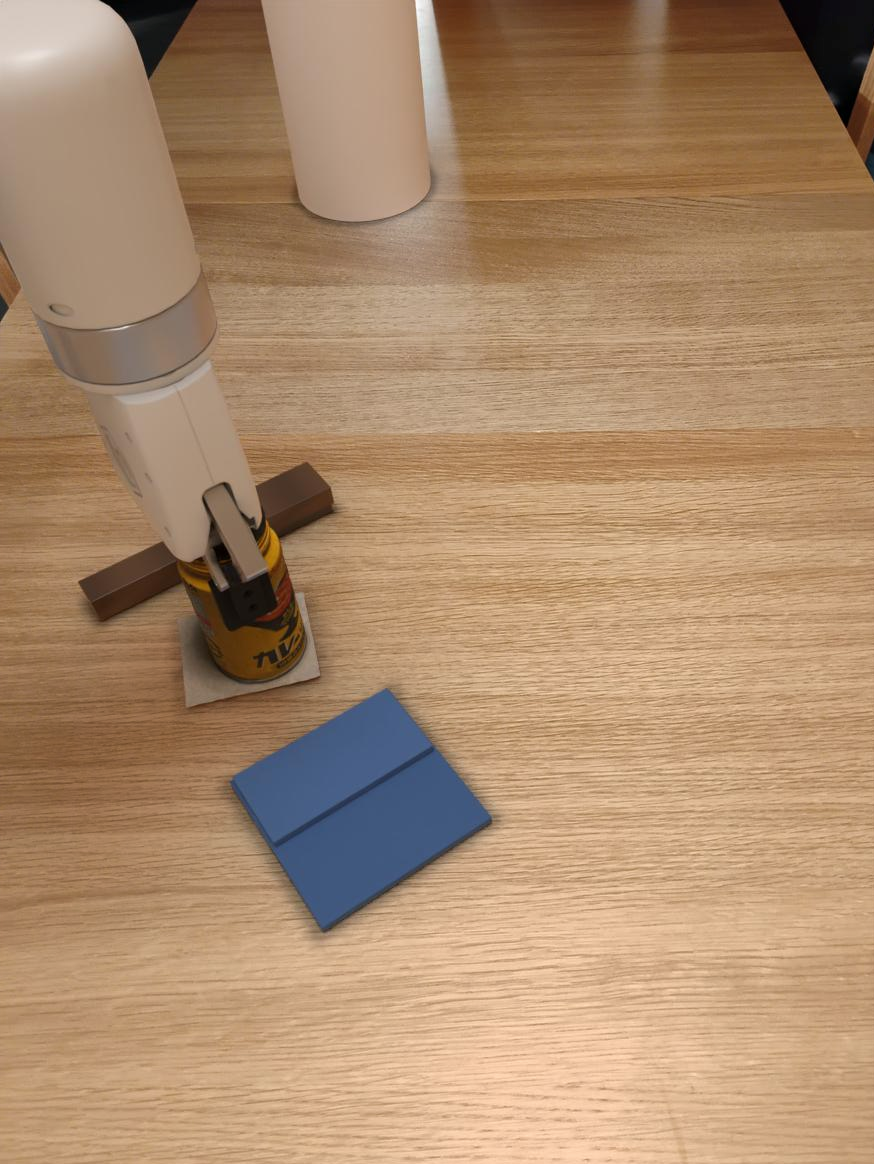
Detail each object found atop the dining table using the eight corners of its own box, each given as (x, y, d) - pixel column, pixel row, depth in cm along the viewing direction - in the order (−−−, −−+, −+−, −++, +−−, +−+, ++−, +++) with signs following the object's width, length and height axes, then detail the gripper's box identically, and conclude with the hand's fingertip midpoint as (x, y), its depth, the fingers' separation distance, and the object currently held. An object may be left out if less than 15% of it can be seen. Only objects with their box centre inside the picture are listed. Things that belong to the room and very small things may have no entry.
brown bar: (103, 627, 67) (91, 604, 65) (84, 595, 69) (72, 572, 67) (336, 511, 73) (331, 487, 71) (312, 485, 75) (307, 460, 73)
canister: (438, 154, 106) (421, -68, 90) (421, 222, 97) (399, -10, 82) (313, 154, 107) (274, -65, 91) (285, 220, 99) (238, -8, 83)
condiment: (321, 677, 63) (283, 545, 54) (186, 709, 62) (124, 580, 53) (304, 594, 68) (266, 459, 58) (178, 622, 67) (119, 489, 57)
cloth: (323, 932, 53) (319, 923, 52) (231, 786, 59) (226, 776, 58) (492, 822, 57) (491, 811, 56) (390, 694, 62) (387, 683, 61)
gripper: (-13, 264, 48) (111, 527, 63) (125, 452, 39) (233, 710, 53) (131, 212, 51) (219, 476, 65) (293, 378, 42) (354, 643, 56)
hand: (225, 580), depth 59 cm, fingers closed on condiment, 6 cm apart
